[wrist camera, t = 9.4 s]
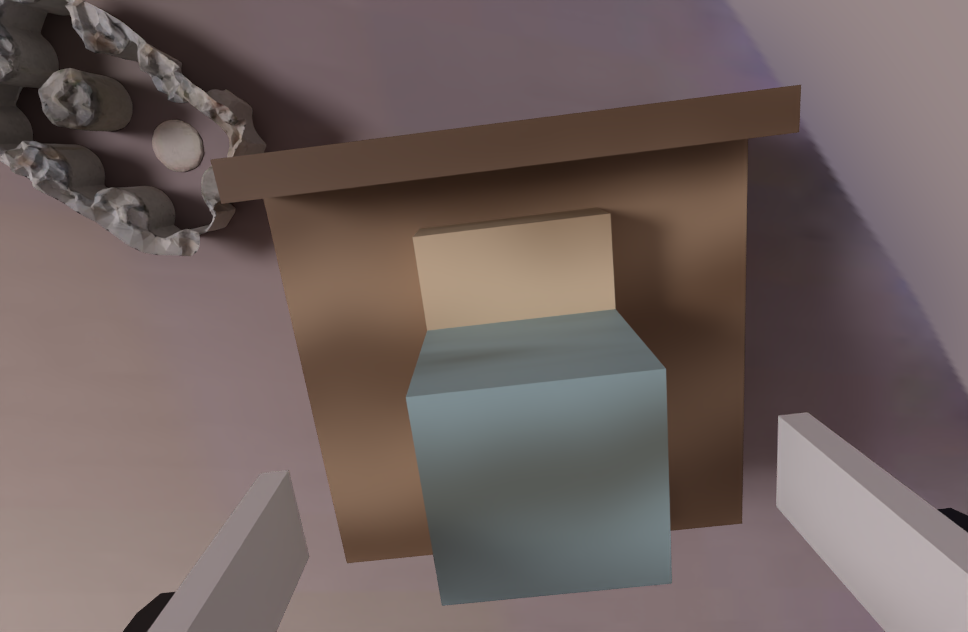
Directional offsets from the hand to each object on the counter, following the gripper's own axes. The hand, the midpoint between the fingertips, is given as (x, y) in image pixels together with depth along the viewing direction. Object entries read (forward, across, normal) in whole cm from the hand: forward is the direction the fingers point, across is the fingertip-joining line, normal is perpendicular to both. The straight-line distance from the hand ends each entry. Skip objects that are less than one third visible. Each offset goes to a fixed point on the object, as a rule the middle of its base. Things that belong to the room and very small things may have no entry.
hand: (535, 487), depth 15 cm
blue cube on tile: (+6, 0, -1) cm, 6 cm away
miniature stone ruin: (+13, +15, -12) cm, 23 cm away
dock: (+13, 0, -2) cm, 13 cm away
